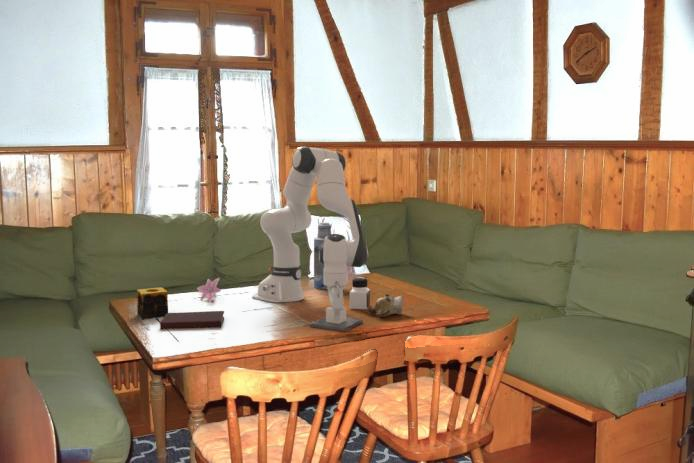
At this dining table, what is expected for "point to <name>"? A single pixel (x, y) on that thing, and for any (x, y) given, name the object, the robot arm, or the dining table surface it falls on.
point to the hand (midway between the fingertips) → (335, 316)
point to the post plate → (338, 327)
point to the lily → (209, 289)
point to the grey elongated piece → (323, 231)
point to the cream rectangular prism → (331, 315)
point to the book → (192, 320)
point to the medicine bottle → (359, 294)
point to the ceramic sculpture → (387, 306)
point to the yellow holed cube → (152, 303)
